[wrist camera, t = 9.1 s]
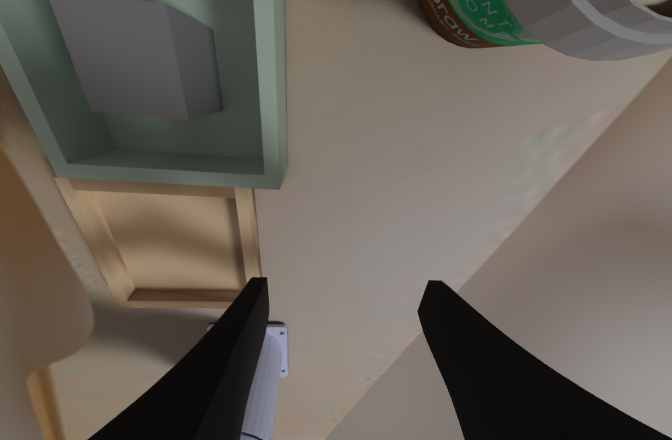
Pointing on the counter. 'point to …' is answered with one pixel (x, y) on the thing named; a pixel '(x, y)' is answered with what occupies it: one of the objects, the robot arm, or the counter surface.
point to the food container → (556, 25)
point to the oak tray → (168, 240)
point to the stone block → (141, 58)
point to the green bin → (153, 132)
